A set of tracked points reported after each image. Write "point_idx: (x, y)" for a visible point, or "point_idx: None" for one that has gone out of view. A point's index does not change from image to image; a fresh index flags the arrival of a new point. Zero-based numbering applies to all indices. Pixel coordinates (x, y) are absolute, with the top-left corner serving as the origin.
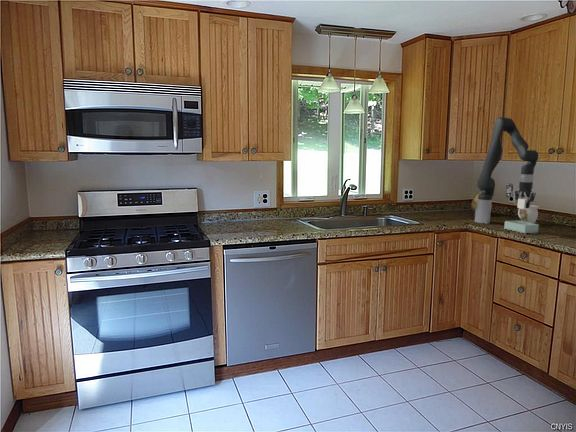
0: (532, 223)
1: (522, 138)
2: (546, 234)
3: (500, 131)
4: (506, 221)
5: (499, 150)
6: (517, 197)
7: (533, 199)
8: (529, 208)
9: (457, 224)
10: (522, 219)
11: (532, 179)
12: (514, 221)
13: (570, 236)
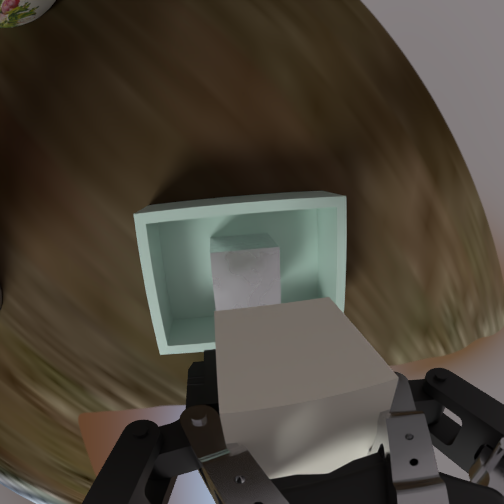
0: (294, 206)
1: None
2: (368, 177)
3: None
4: (173, 353)
5: None
6: (115, 461)
7: (466, 390)
8: (328, 299)
9: (51, 433)
10: (9, 26)
11: None
12: (152, 264)
13: (427, 95)
